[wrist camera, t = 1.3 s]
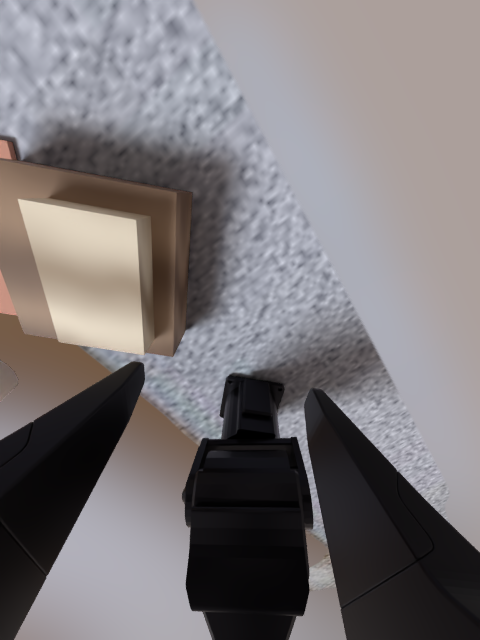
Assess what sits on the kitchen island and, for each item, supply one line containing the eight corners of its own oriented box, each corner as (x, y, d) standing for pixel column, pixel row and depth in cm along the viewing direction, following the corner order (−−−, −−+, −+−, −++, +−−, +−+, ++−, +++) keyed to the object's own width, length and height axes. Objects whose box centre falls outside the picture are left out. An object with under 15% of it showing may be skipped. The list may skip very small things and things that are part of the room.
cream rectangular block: (154, 339, 18) (144, 354, 16) (77, 327, 18) (58, 341, 16) (150, 216, 14) (136, 219, 12) (48, 197, 13) (17, 198, 12)
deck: (185, 331, 22) (173, 356, 19) (60, 311, 22) (24, 333, 18) (192, 192, 16) (176, 192, 13) (21, 160, 16) (-44, 151, 12)
